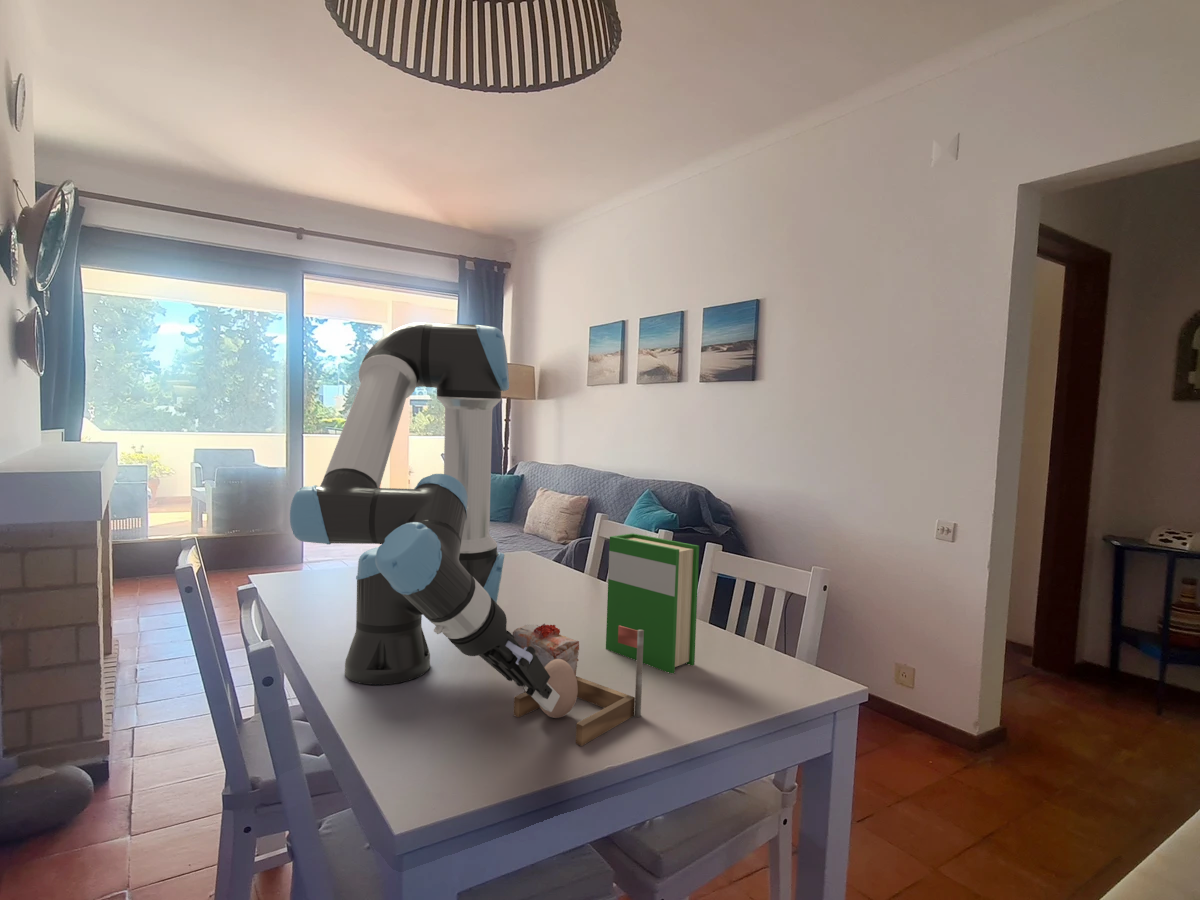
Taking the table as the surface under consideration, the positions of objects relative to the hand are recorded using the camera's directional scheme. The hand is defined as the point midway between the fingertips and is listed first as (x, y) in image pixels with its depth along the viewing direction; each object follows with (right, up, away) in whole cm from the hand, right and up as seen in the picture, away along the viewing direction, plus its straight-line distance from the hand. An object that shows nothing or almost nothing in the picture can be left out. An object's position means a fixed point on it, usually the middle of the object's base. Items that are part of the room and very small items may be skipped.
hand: (552, 702), depth 94 cm
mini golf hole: (+4, -4, +5) cm, 8 cm away
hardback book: (+17, -4, +33) cm, 37 cm away
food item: (-3, -4, +20) cm, 21 cm away
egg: (0, -4, +4) cm, 6 cm away
